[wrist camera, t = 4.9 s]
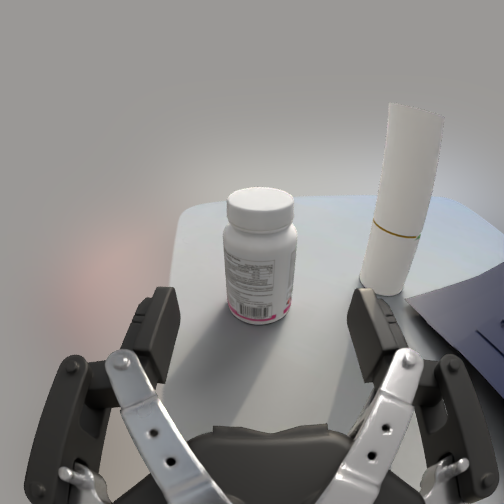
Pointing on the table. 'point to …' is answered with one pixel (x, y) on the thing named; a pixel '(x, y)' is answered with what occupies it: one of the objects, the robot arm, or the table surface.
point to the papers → (471, 320)
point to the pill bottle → (259, 254)
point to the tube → (402, 196)
